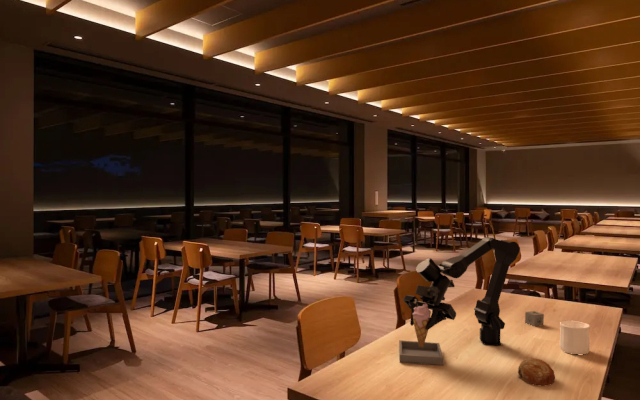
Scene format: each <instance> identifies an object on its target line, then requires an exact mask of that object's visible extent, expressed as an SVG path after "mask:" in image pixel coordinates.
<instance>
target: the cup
mask: <svg viewBox="0 0 640 400" xmlns="http://www.w3.org/2000/svg"><path fill="white" fill-rule="evenodd" d="M559 327H560V328H559V329H560V330H559V331H560V332H559V333H560V334H559V348H560V350H561V351H562V350H563V351H562V352H564V351H565V352H564V353H566V352H568V353H572V354H586V353H587V354H588V353H589V352H590V348H591V346H590V345H591V342H590V328H591V326H590V324H589V323H586V322H581V321H578V320H572V319H571V320H568V319H567V320H562V321H560V322H559ZM568 353H567V354H568ZM572 354H571V355H572ZM587 354H586V355H587Z"/></svg>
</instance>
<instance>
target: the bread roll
mask: <svg viewBox="0 0 640 400" xmlns="http://www.w3.org/2000/svg"><path fill="white" fill-rule="evenodd" d="M517 373H518V375H517V377H518V378H519V379H520V380H522V381H523V380H524V381H523V382H525V383H527V384H529V383H530V385H532V384H534V385H533V386H538V385H541V386H540V387H546V386H551V385H553V384H554V382H555V380H556V375H555V371H554V369H553V368H552V367H551V365H550V364H549V363H547V362H546V361H545V360H543V359H538V358H533V357H529V358H525V359H523V360H522V361H521V362H520V363H519V366H518V368H517ZM550 384H551V385H550ZM545 385H546V386H545Z"/></svg>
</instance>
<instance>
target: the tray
mask: <svg viewBox="0 0 640 400" xmlns="http://www.w3.org/2000/svg"><path fill="white" fill-rule="evenodd" d="M398 345H399V346H398V348H399V349H398V353H399V356H398V357H399V363H405V364H416V365H417V364H418V365H430V366H431V365H432V366H442V367H443V366H444V355H443V351H442V349H441V345H440V342H429V341H425V343H424V346H423V347H419V344H418V341H413V340H399V341H398Z"/></svg>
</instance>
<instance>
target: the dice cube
mask: <svg viewBox="0 0 640 400" xmlns="http://www.w3.org/2000/svg"><path fill="white" fill-rule="evenodd" d="M524 315H525V316H524V317H525V318H524V319H525V320H524V324H526V323H527V325H529V324H530V325H529V326H531V325H532V327H534V326H536V327H540V326H539V325H543V326H544V319H545V318H544V317H545V315H544V313H541V312H538V311H536V310H531V311H525V314H524Z"/></svg>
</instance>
